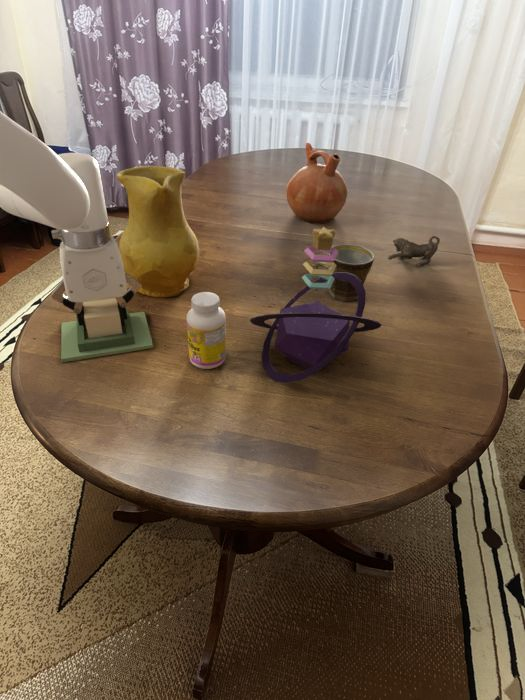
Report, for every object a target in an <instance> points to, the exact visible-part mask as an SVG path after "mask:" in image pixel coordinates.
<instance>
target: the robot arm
mask: <svg viewBox="0 0 525 700" xmlns="http://www.w3.org/2000/svg"><path fill="white" fill-rule="evenodd" d="M0 209H2V210H3V211H5V212H6V213H8V214H11V215H12V216H16V217H18V218H22V219H25V220H28V221H31V222H36V223H38V224H41V225H45V226H47V227H50V228H53V229H52V230H51V236H52V239H54V240H55V239H57V240H60V241H61V242H60V244H59V262H60V270H61V274H62V279H61V280H60V281H59V283H58V284H57V285H56V286H55V288H54V289H52V291H51V299H53V300H54V301H56V302H58V303H59V304H62V305H63V306H64V307H66V308H68V309H70V310H71V311H72V312H73V313H74V314H76V319H77V318H78V322H79V326H82V325H83V328H84V332H86V331H87V328H86V323H85V319H84V305H83V302H89V301H97V300H105V299H112V298H115V299H116V300H117V304H118V309H119V315H120V321H121V326H125V323H124V320H125V319H128V318H127V312H126V309H127V306H128V304H129V302H131V300H132V299H134V297H135V294H137V293H139V292H138V291H139V290H140V288H141V287H142V286H141V282H140V281H138V280H137V279H136V278H134V277H133V276H131V275H130V274H128V273H127V272H125V271H124V267H123V263H122V258H121V254H120V251H119V244H118V242H117V241H116V238H115V237H114V236H112V235H111V230H110V224H109V217H108V212H107V205H106V200H105V194H104V187H103V181H102V176H101V170H100V166H99V162H98V161H97V159H96V158H94V156H92V155H90V154H88V153H84V152H83V153H82V152H64V153H59V154H58V153H56V152H55V151H54V150H53V149H52V148H51V147H50V146H48V145H47V144H46V143H45V142H43V141H42V140H40V139H39V138H38V137H37V136H36V135H34V134H33V133H32V132H30V131H29V130H27V129H26V128H25V127H23V126H22V125H20V124H19V123H17V122H16V121H14V120H13V119H11V117H9V116H7V114H5V113H4V112H2V111H1V110H0ZM127 284H128V285H129V287H128V285H127Z"/></svg>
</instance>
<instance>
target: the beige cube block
mask: <svg viewBox="0 0 525 700" xmlns="http://www.w3.org/2000/svg"><path fill="white" fill-rule="evenodd" d="M83 306H84V319H85V323H86V328H87V332H88V337H89V339H91V338H98V337H104V336H111V335H118V334H123V332H122V327H121V321H120V315H119V309H118V304H117V300H116V299H115V298H112V299H105V300H97V301H89V302H83Z"/></svg>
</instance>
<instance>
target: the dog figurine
mask: <svg viewBox="0 0 525 700" xmlns="http://www.w3.org/2000/svg"><path fill="white" fill-rule="evenodd" d="M433 239H436V241H435V242H434V241H433ZM440 242H441V239H440V237H438V236H436V235H432V236H430V237H429V238H428V242H425V243H417V242H414V241H411V240H409V239H407V238H404V237H400V236H398V237H396V238H394V239H393V240H392V243H393V246H394V247H395V250H396V252H397V253H395V254H394V253H393V254H391V255H388V256H387V260H391V261H392V259H396V258H399V259H400V260H401V259H402V260H412V259H413V258H421V259H422V261H420V262H416V264H415V266H416V267H417V268H420V267H423V266H425V265H429V264H430V263H431V260H432V258H433V256H434V255H435V254H436V252H437V251H438V248H439V244H440Z"/></svg>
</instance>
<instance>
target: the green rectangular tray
mask: <svg viewBox="0 0 525 700" xmlns="http://www.w3.org/2000/svg"><path fill="white" fill-rule="evenodd" d="M126 312H127V318H128V319H125V320H124V323H125V326H121V327H122V332H123V334H118V335H111V336H104V337H98V338H91V339H89V337H88V332H87V331H86V332H84V328H83V325H82V326H79V322H78V318H77V317H76V320H72V321H64V322H61V324H60V325H61V326H60V327H61V330H60V332H61V335H60V337H61V339H60V340H61V342H60V344H61V345H60V351H61V352H60V360H61V363H67V362H73V361H80V360H86V359H93V358H100V357H106V356H111V355H119V354H124V353H131V352H138V351H144V350H149V349H153V348H154V344H153V340H152V336H151V332H150V328H149V325H148V321H147V316H146V313H145V311H138V312H131V313H130V311H129V308H126Z"/></svg>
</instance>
